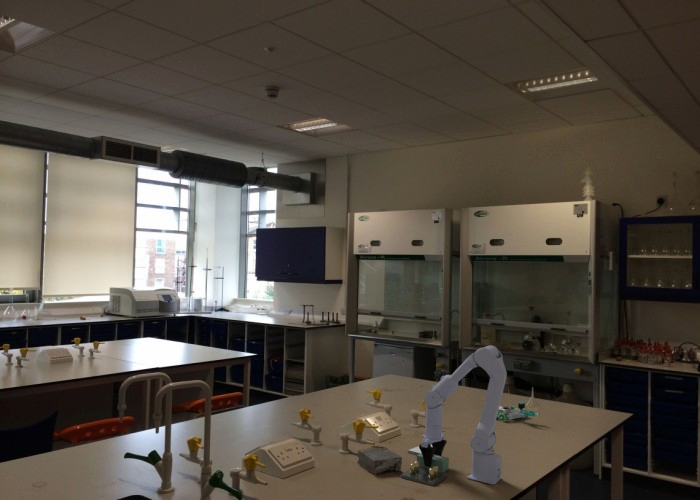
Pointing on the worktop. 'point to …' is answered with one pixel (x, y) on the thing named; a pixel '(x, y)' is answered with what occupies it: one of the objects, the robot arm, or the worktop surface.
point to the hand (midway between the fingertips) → (432, 463)
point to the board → (435, 462)
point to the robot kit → (514, 412)
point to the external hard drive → (415, 451)
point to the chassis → (423, 474)
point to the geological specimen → (379, 459)
